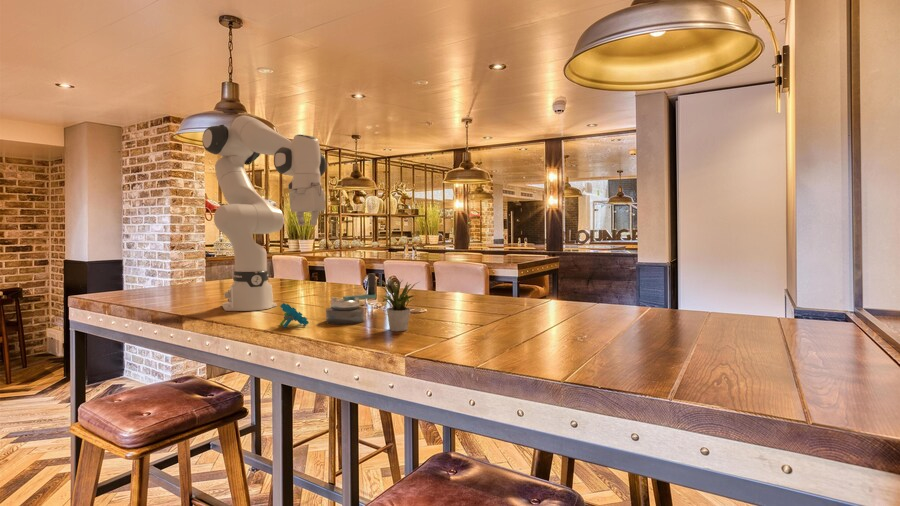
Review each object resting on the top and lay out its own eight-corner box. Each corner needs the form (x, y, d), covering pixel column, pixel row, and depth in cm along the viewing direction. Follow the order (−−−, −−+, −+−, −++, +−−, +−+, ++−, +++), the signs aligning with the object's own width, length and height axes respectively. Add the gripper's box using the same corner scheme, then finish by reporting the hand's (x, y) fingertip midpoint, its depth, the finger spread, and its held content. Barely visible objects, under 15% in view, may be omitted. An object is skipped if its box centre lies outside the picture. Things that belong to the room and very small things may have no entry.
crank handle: (339, 311, 152) (339, 277, 152) (325, 307, 159) (325, 275, 158) (382, 306, 162) (382, 274, 162) (367, 303, 169) (367, 272, 169)
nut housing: (319, 320, 159) (319, 307, 159) (352, 316, 167) (352, 303, 167) (336, 326, 150) (336, 312, 150) (370, 321, 158) (370, 308, 158)
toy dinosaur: (314, 322, 148) (290, 300, 144) (302, 337, 145) (276, 316, 141) (301, 321, 157) (277, 301, 153) (289, 336, 154) (265, 316, 150)
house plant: (360, 331, 142) (360, 276, 141) (384, 323, 155) (384, 272, 154) (404, 336, 137) (404, 278, 136) (425, 327, 150) (425, 274, 149)
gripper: (330, 182, 156) (330, 225, 157) (303, 186, 172) (303, 225, 172) (311, 180, 152) (311, 225, 153) (286, 185, 168) (286, 225, 168)
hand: (307, 225), depth 163 cm, fingers open, 8 cm apart
